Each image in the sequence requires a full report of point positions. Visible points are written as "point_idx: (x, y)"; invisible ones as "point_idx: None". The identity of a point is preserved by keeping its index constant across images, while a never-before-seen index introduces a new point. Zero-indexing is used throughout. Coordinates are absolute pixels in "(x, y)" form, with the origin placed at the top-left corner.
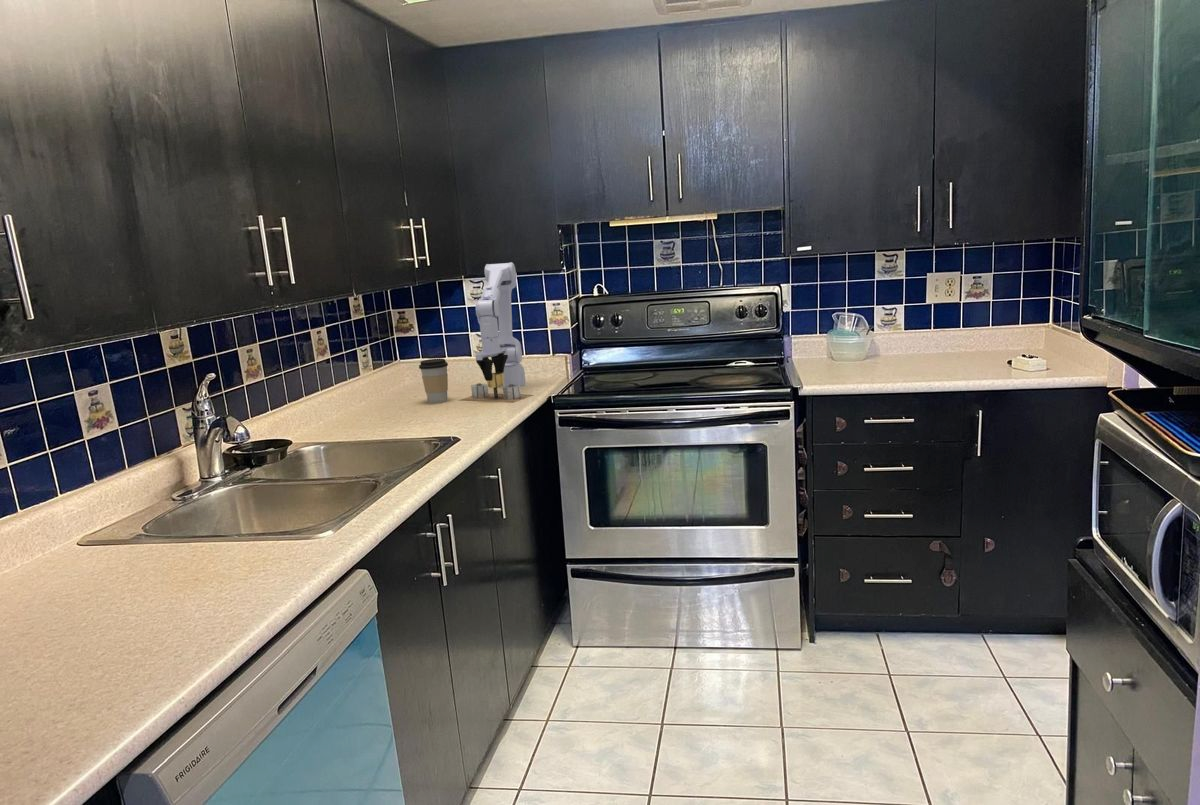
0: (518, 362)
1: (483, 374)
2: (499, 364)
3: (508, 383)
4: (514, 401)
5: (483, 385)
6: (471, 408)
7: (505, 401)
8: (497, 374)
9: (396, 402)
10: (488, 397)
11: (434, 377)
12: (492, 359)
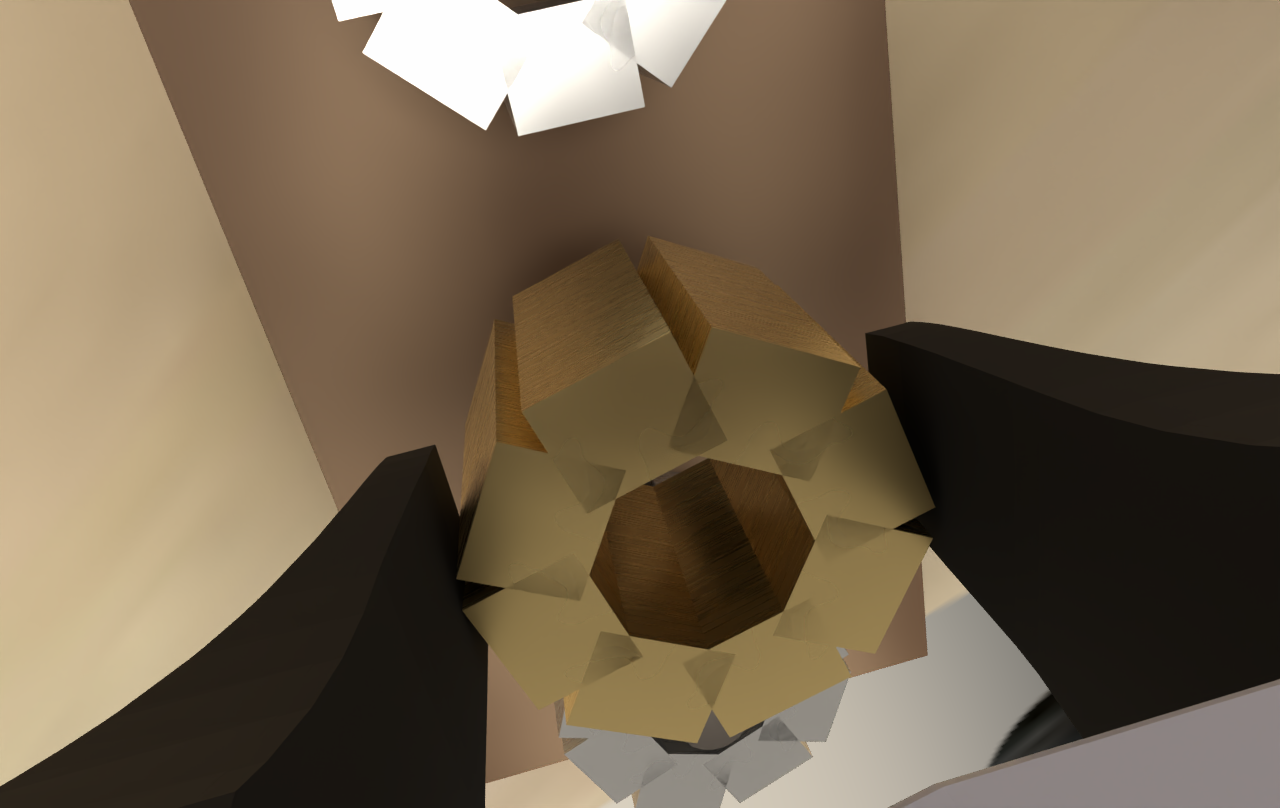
0: None
1: (320, 540)
2: (1086, 639)
3: None
4: (505, 761)
5: (548, 83)
6: (33, 274)
7: None
8: (636, 713)
9: None
10: (554, 145)
11: None
12: (1271, 480)
